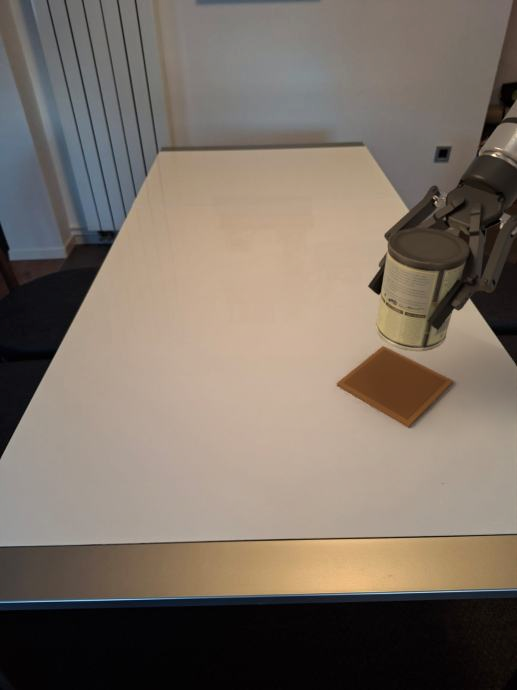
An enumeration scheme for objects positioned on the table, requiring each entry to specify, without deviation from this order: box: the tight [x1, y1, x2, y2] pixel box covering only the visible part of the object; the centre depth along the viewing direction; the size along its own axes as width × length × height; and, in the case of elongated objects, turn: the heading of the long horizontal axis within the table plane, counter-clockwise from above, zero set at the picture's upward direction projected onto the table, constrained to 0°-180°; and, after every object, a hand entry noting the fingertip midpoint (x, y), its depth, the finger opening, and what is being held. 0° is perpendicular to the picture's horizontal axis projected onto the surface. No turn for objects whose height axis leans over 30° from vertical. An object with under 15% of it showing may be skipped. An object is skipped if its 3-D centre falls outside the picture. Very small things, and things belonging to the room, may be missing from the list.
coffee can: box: [375, 228, 470, 352], centre depth 69 cm, size 10×10×14 cm
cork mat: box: [336, 345, 454, 429], centre depth 84 cm, size 14×14×1 cm
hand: (401, 307), depth 69 cm, fingers closed on coffee can, 10 cm apart
